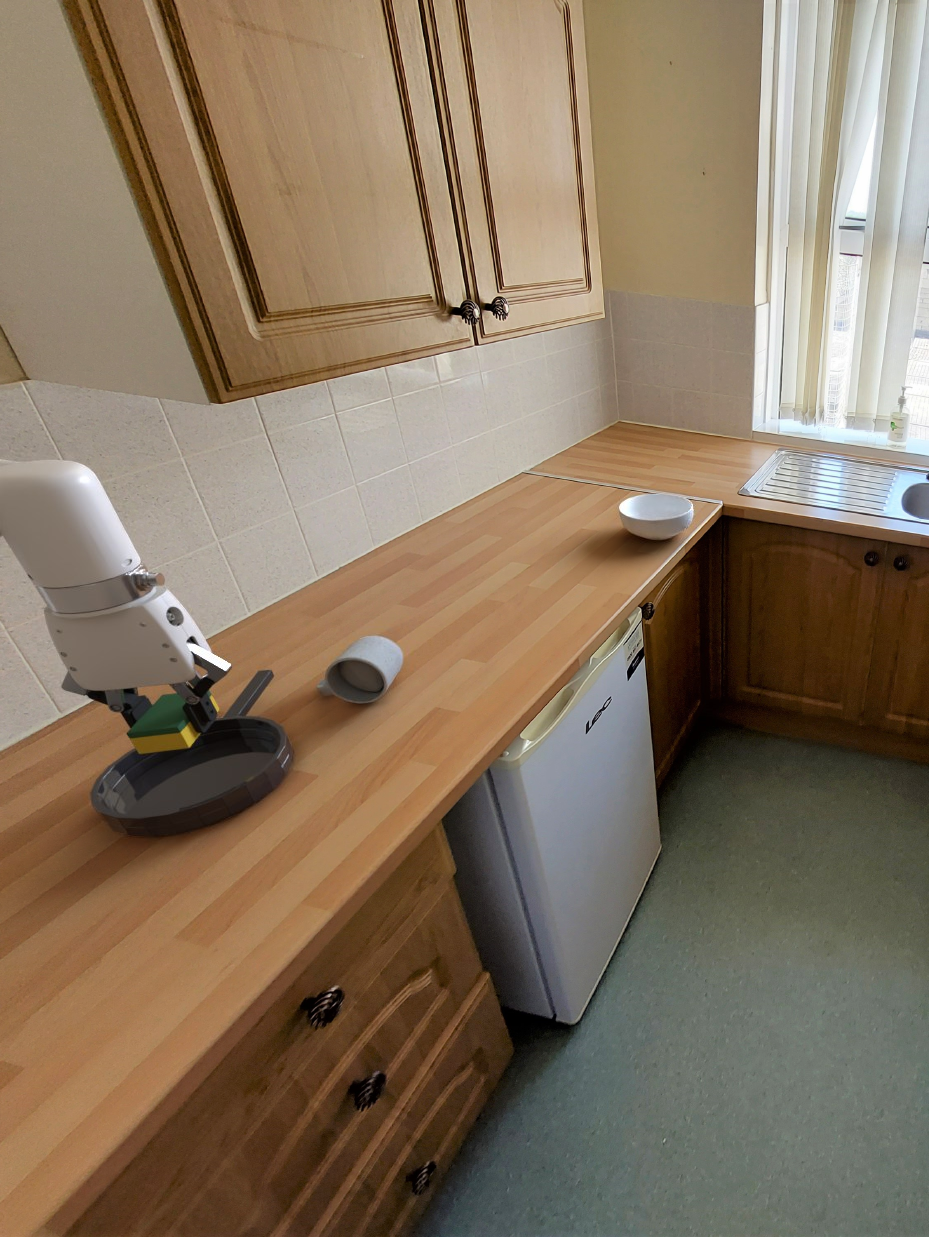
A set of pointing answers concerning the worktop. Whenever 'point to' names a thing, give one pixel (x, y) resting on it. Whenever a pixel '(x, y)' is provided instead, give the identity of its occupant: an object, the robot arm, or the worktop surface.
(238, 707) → the pan handle
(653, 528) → the cereal bowl
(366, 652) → the ceramic mug
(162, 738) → the sponge
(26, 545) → the robot arm
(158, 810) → the pan
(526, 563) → the worktop surface
